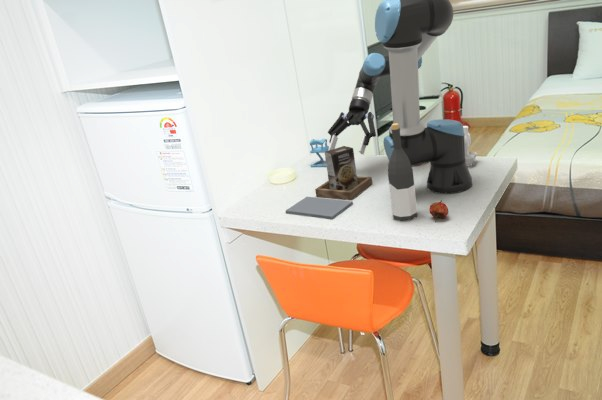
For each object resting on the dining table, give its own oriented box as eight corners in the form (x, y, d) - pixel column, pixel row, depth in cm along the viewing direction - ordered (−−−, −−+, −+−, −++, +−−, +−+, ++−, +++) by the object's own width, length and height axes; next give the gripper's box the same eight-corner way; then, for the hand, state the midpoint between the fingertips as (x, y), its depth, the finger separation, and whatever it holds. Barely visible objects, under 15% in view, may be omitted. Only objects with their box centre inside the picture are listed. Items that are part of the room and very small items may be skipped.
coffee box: (338, 196, 188) (332, 154, 182) (329, 192, 193) (323, 151, 187) (359, 188, 191) (353, 147, 185) (350, 185, 196) (344, 144, 191)
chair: (333, 160, 229) (329, 134, 225) (326, 167, 222) (322, 140, 218) (317, 161, 233) (313, 135, 228) (310, 167, 226) (306, 141, 221)
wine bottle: (422, 216, 159) (413, 123, 148) (399, 223, 157) (388, 129, 147) (410, 208, 166) (401, 118, 156) (387, 215, 165) (376, 124, 154)
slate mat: (353, 204, 178) (352, 201, 178) (332, 219, 169) (332, 216, 169) (307, 199, 191) (306, 196, 190) (286, 213, 181) (285, 210, 181)
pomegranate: (447, 227, 153) (455, 205, 156) (438, 218, 150) (446, 196, 153) (430, 225, 158) (439, 204, 160) (422, 216, 154) (430, 195, 157)
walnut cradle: (372, 184, 193) (371, 177, 192) (351, 200, 182) (350, 192, 181) (338, 181, 202) (337, 174, 201) (316, 196, 191) (315, 189, 190)
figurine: (478, 160, 197) (476, 122, 192) (473, 168, 190) (471, 129, 185) (459, 160, 201) (457, 123, 196) (453, 168, 194) (450, 130, 189)
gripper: (393, 106, 192) (379, 157, 187) (338, 108, 208) (323, 155, 203) (385, 96, 187) (369, 148, 182) (329, 98, 202) (313, 146, 197)
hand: (345, 152), depth 192 cm, fingers open, 13 cm apart
